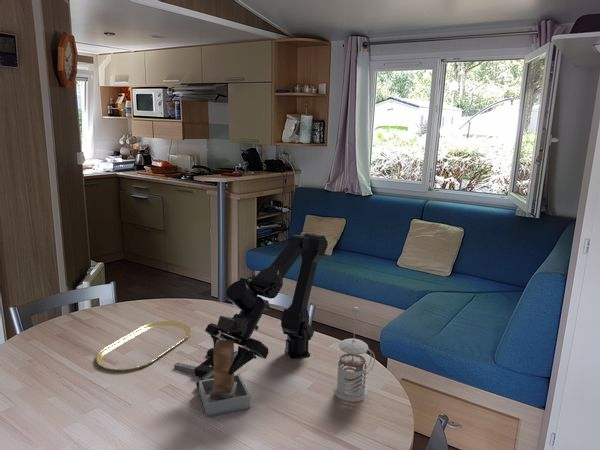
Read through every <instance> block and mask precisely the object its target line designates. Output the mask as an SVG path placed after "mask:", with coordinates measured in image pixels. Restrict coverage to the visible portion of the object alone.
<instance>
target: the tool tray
mask: <svg viewBox="0 0 600 450" xmlns="http://www.w3.org/2000/svg"><path fill="white" fill-rule="evenodd" d="M198 381H199V380H198ZM234 382H237V390H236V393H235V396H234V398H229V399H210V393H211V390H212V388H213V386H214V378H213V379H207V380H201V381H199V389H198V394H199V397H200V401H201V404H202V406H203V407H202V408H203V409H204V413H205V416H206V417H207V418H208V417H213V416H214V417H215V416H219V415H224V414H229V413H234V412H239V411H243V410H249V409H251V394H250V392H249V389H247V387H246V384H245V383H244V381H243V379H242V375H240V373H238V374H237V373H236V374H234Z"/></svg>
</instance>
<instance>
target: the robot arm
mask: <svg viewBox="0 0 600 450" xmlns="http://www.w3.org/2000/svg"><path fill="white" fill-rule="evenodd" d="M288 240H289V241H288V242H287V244H286V245H285V246H284V248H283V249H282V250H281V252H280V253H279V254H278V256H277V257H276V258H275V259H274V260H273V262H272V263H271V265H269V266H268V267H267V268H264V269H262V270H261V271H259V272H258V273H257V274H256V275H255V276H254V277H253V278H252V279H251V280H248V278H245V277H239V280H236V281H234V282H233V283H231V284H230V285H228V287H227V290H226V294H225V295H226V297H227V299H229V301H230V302H232V303H233V304H234V305H235V306H236V307H237V308H239V309H240V311H239V313H235V314H233V316H232V317H231V316H230V317H229V316H224V315H219V318H218V321H217V323H213V322H210V323H209V324H207V326H206V327H205V330H204V332H206V333H207V334H208V335H209V336H210V338H211V339H212V341H213V347H212V348H213V354H212V359H211V365H210V366H211V367H214V346H215V343H216V341H217V340H234V344H236V345H238V347H237V352H238V353H237V356H236V357H235V359H234V361H233V363H232V365H231V367H230V369H229V372H228V374H229V375H232V374H233V373H234V374H235V372H237V371H238V370H239V369H240V368H242V367H243V366H245V365H246V364H247V363H249V362H250V361H252V360H257V357H258V358H261V359H264V360H267V359H266V358H267V357H268V356H269V347H268V346H266V345H265V343H264V342H262V341H260V340H257V339H255V338H252V337H251V336H252V335H253V334H254V333H253V332H254V331H255V330H256V331H258V330H259V325H258V323H259V322H260V319H261V317H262V316H263V314H264V312H265V311H267V312H269V311H270V310H271V306H270V304H269V303H270V302H269V299H270V300H271V299H275V298H276V297H277V296H278V295H279V293H280V291H281V290H282V287H283V286H284V285H283V284H284V283H283V282H284V277H285V276H286V274H288V272H289V270H290V269H291V267H292V266H293V265H294V264H295V262H296V261H297V260H298V259H299V257H301V263H300V267H299V270H298V271H299V272H298V276H297V280H296V284H295V289H294V291H293V292H294V293H293V295H292V296H293V297H292V300H291V304H290V305H289V306H288V307H287V308H284V309H283V311H282V317H281V319H280V327H281V328H282V329H281V330H282V333H283V335H286V336H287V338H286V339H285V348H284V351H285V352H286V353H287V355H288V356H289V357H290V358H291V359H298V358H305V357H310V356H311V353H310V351H309V343H310V342H309V341H311V340H312V338H313V337H314V332H315V329H314V328H313V327H312V326H311V325H310V314H309V311H308V304H309V301H310V300H309V299H310V296H311V291H312V286H313V283H314V280H315V279H314V278H315V275H316V269H317V265H318V263H319V262H320V261H321V260H322V259H323V258H324V256H325V254H326V251H327V248H328V246H329V245H328V240H327V239H326V236H325V235H322V234H321V235H320V234H316V233H310V232H306V233H305V234H304V235H300V234H294V235H291V236H290V238H289V239H288ZM262 297H263V298H267V299H263V298H262Z"/></svg>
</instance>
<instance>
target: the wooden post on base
mask: <svg viewBox="0 0 600 450" xmlns="http://www.w3.org/2000/svg"><path fill="white" fill-rule="evenodd" d="M213 348H214V386H213V388H212V390H211V393H210V399H229V398H234V396H235V393H236V390H237V382H234V375H235V372H234V373H233V374H232V375H229V374H228V372H229V369H230V367H231V365H232V363H233V361H234V352H235V343H234V340H217V341H216V343H215V346H214V345H213Z"/></svg>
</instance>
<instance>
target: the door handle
mask: <svg viewBox="0 0 600 450" xmlns="http://www.w3.org/2000/svg"><path fill="white" fill-rule="evenodd" d="M213 348H214V347H211V348H209V349H208V350H207V351H206V356H207V357H208V358H207V359H205V360H204V361H203V362H201V363H200V364H199V365H197V366H195V365H191V364H188V363H187V364H186V363H182V362H177V363H175V364H173V365H174V366H173V367H174V370H177V371H181V372H184V373H187V374H191V375H193V376H194V377H197V378H199V379H198V381H196V388H197V389H198V390H199V381H201V380H207V379H213V378H214V367H212V366H211V359H212V354H213ZM237 353H238V350H236V351H235V350H234V359H235V357H236V356H237Z"/></svg>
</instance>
